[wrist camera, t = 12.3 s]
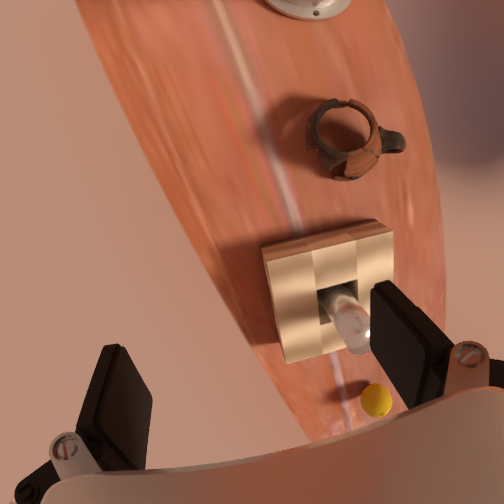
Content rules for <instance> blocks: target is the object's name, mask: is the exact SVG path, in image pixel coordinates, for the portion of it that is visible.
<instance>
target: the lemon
mask: <svg viewBox="0 0 504 504" xmlns="http://www.w3.org/2000/svg"><path fill="white" fill-rule="evenodd" d="M361 404H362V407H363V409H364V410H365V412H366V413H367V414H369V415H370V416H372V417H382V416H385V415H386V414H387V413H388V412H389V410H390V409H391V406H392V399H391V395H390V393H389V391H388V390H387V389H386V388H385V387H384V386H383V385H381V384H370V385H367V387H366V388H365V389H364V390H363V391H362V394H361Z"/></svg>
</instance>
